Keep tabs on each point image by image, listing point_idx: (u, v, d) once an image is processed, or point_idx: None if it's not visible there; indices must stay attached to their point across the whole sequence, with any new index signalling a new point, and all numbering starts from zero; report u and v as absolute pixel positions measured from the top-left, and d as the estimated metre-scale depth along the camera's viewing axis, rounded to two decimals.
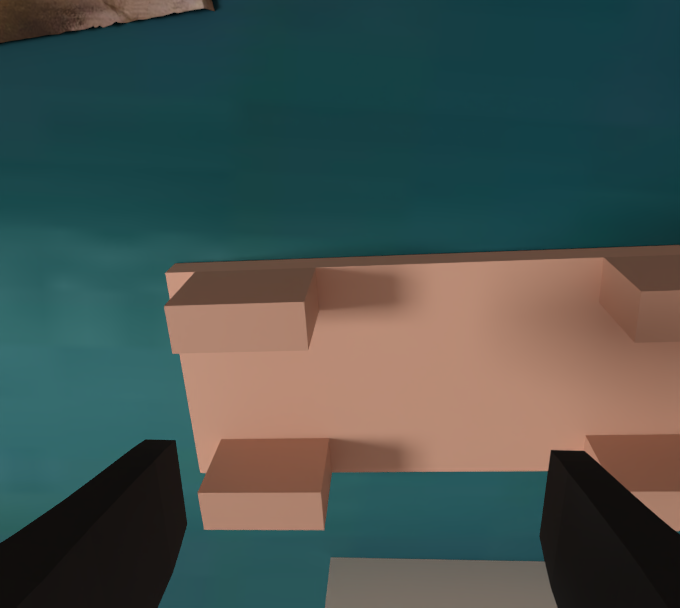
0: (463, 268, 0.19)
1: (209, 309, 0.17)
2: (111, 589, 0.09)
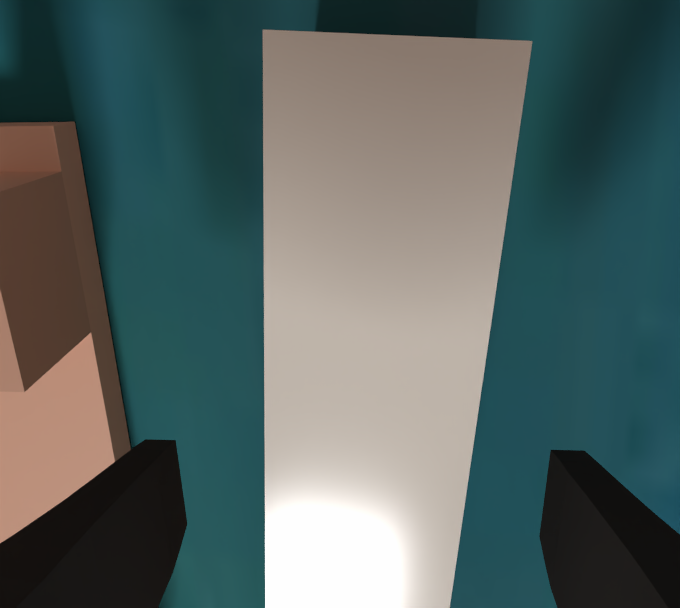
0: None
1: None
2: (111, 589, 0.09)
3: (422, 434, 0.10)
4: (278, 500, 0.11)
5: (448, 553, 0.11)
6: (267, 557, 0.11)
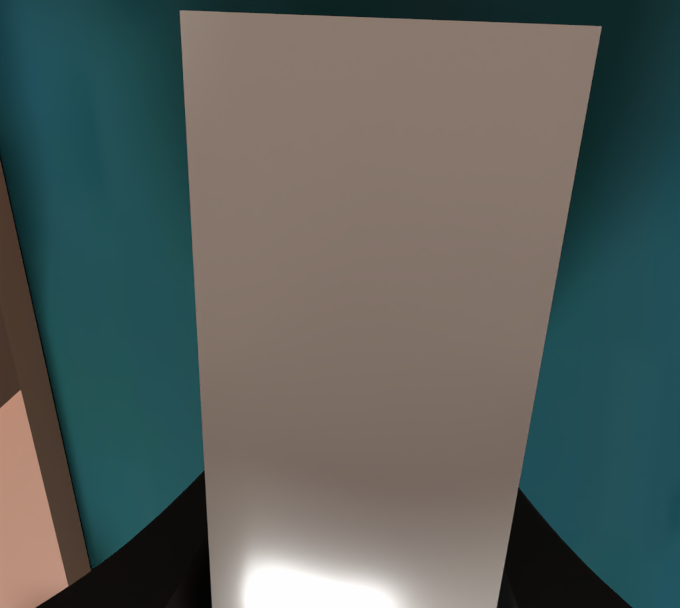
0: None
1: None
2: None
3: (427, 579, 0.07)
4: None
5: None
6: None
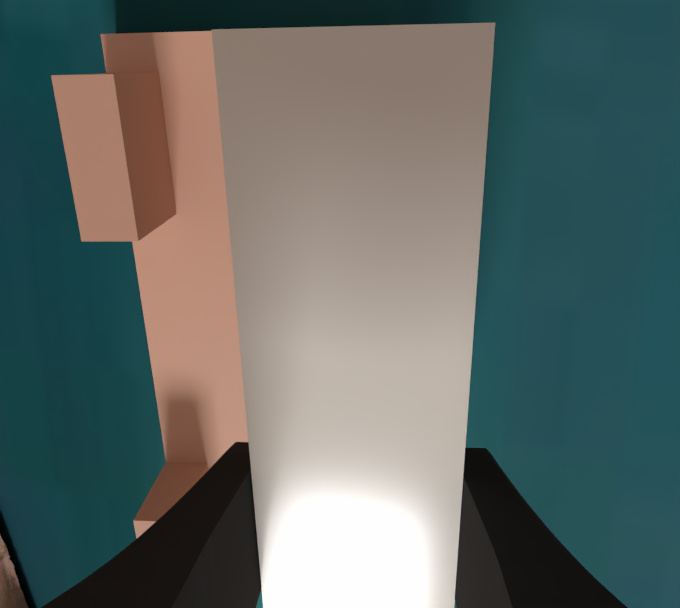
0: (153, 342, 0.20)
1: None
2: (224, 594, 0.09)
3: (411, 440, 0.10)
4: (268, 514, 0.10)
5: (448, 560, 0.11)
6: (262, 573, 0.11)
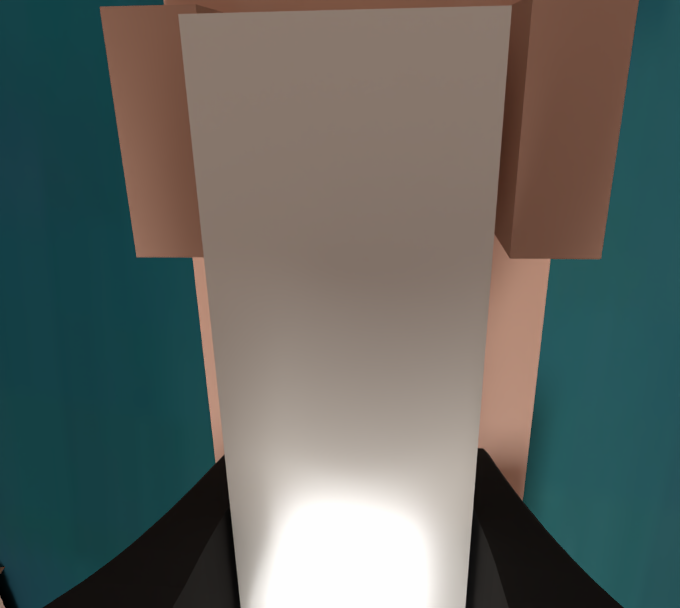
0: (215, 386, 0.15)
1: None
2: (226, 594, 0.09)
3: (412, 484, 0.09)
4: (252, 566, 0.09)
5: None
6: None
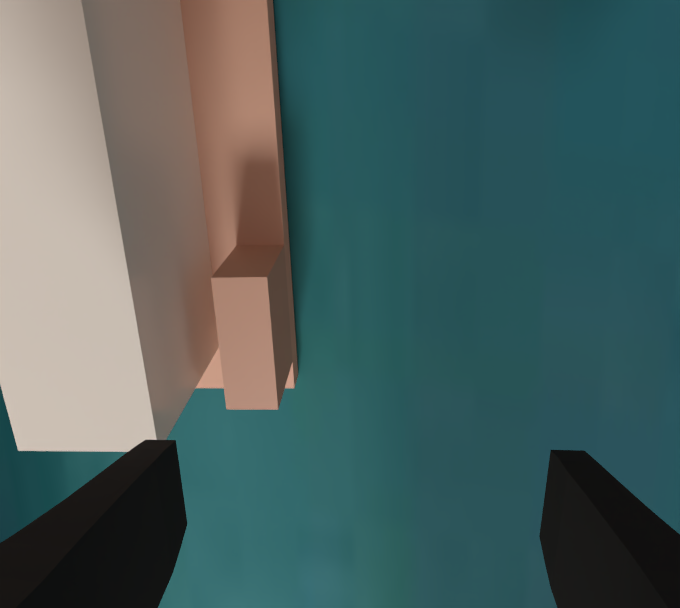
0: None
1: None
2: (111, 589, 0.09)
3: None
4: None
5: (95, 127, 0.12)
6: None
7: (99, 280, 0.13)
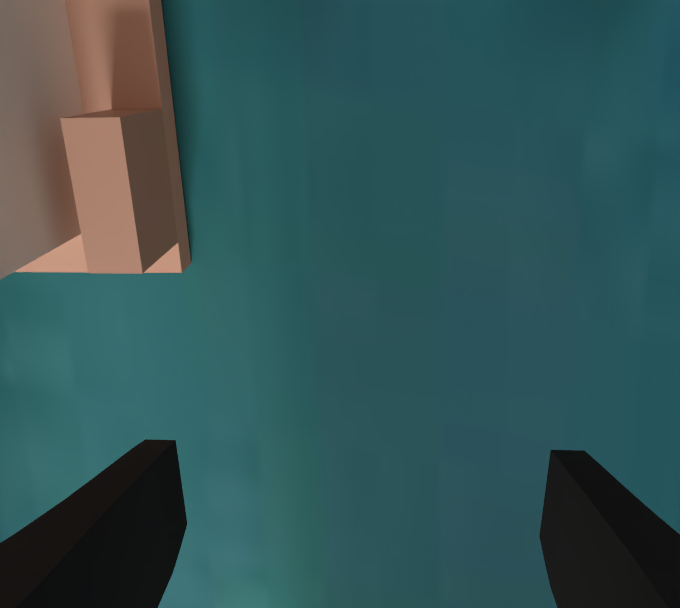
0: None
1: None
2: (111, 589, 0.09)
3: None
4: None
5: None
6: None
7: None
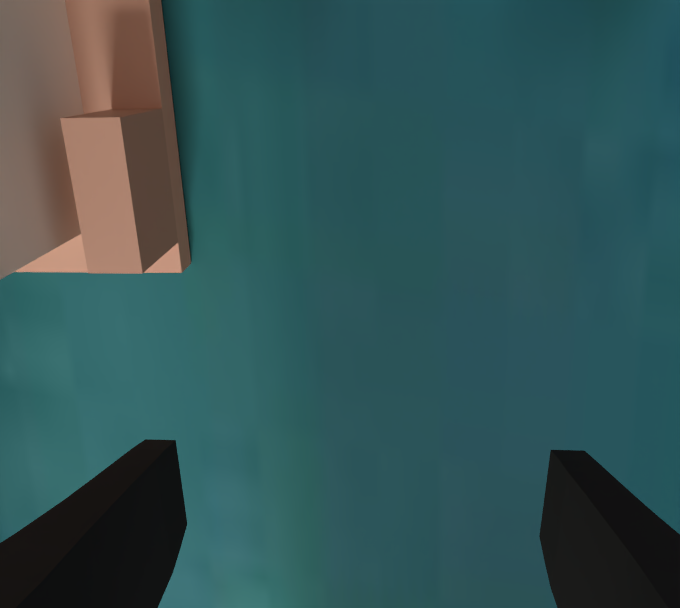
0: None
1: None
2: (111, 589, 0.09)
3: None
4: None
5: None
6: None
7: None
